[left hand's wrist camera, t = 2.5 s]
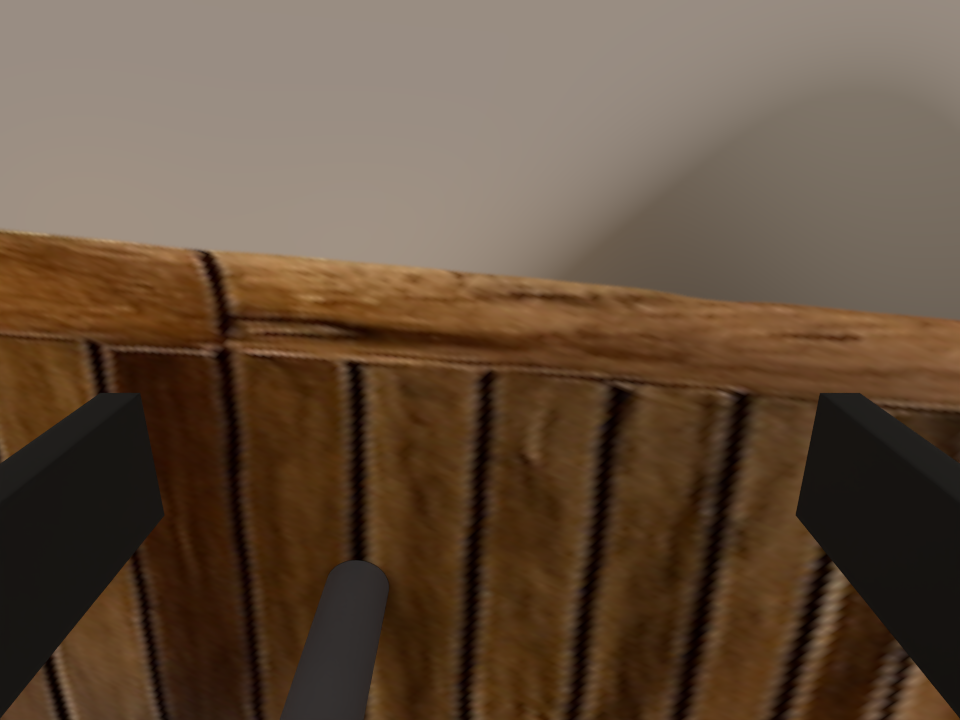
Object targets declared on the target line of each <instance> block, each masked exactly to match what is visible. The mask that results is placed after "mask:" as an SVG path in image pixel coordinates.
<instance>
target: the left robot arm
mask: <svg viewBox="0 0 960 720" xmlns="http://www.w3.org/2000/svg"><path fill="white" fill-rule="evenodd" d="M163 516H164V511H163V506H162V501H161V496H160V491H159V486H158V481H157V476H156V471H155V466H154V461H153V456H152V451H151V446H150V441H149V436H148V431H147V426H146V421H145V416H144V411H143V406H142V401H141V396H140V393H100V394H98V395H97V396H95V397H94V398H93V399H91V400H90V401H88V402H87V403H86V404H84V405H83V406H81V407H80V408H79V409H77V410H76V411H74V412H73V413H71V414H70V415H69V416H67V417H66V418H64V419H63V420H62V421H60V422H59V423H57V424H56V425H54V426H53V427H52V428H50V429H49V430H47V431H46V432H45V433H43V434H42V435H40V436H39V437H37V438H36V439H35V440H33V441H32V442H30V443H29V444H28V445H26V446H25V447H23V448H22V449H21V450H19V451H18V452H16V453H15V454H13V455H12V456H11V457H9V458H8V459H6V460H5V461H4V462H2V463H1V464H0V718H1V717H2V715H3V714H4V713H5V712H6V710H7V709H8V708H9V707H10V706H11V704H12V703H13V702H14V701H15V699H16V698H17V697H18V696H19V694H20V693H21V692H22V691H23V689H24V688H25V687H26V686H27V684H28V683H29V682H30V681H31V680H32V678H33V677H34V676H35V675H36V673H37V672H38V671H39V670H40V668H41V667H42V666H43V665H44V663H45V662H46V661H47V660H48V659H49V657H50V656H51V655H52V654H53V652H54V651H55V650H56V649H57V647H58V646H59V645H60V644H61V642H62V641H63V640H64V639H65V637H66V636H67V635H68V634H69V633H70V631H71V630H72V629H73V628H74V626H75V625H76V624H77V623H78V621H79V620H80V619H81V618H82V616H83V615H84V614H85V613H86V611H87V610H88V609H89V608H90V607H91V605H92V604H93V603H94V602H95V600H96V599H97V598H98V597H99V595H100V594H101V593H102V592H103V590H104V589H105V588H106V587H107V586H108V584H109V583H110V582H111V581H112V579H113V578H114V577H115V576H116V574H117V573H118V572H119V571H120V569H121V568H122V567H123V566H124V564H125V563H126V562H127V561H128V560H129V558H130V557H131V556H132V555H133V553H134V552H135V551H136V550H137V548H138V547H139V546H140V545H141V543H142V542H143V541H144V540H145V539H146V537H147V536H148V535H149V534H150V532H151V531H152V530H153V529H154V527H155V526H156V525H157V524H158V522H159V521H160V520H161V519H162V517H163ZM796 516H797V517H798V519H799V520H800V521H801V522H802V524H803V525H804V526H805V527H806V529H807V530H808V531H809V532H810V534H811V535H812V536H813V537H814V539H815V540H816V541H817V542H818V543H819V545H820V546H821V547H822V548H823V550H824V551H825V552H826V553H827V555H828V556H829V557H830V558H831V560H832V561H833V562H834V563H835V564H836V566H837V567H838V568H839V569H840V571H841V572H842V573H843V574H844V576H845V577H846V578H847V579H848V581H849V582H850V583H851V584H852V586H853V587H854V588H855V589H856V590H857V592H858V593H859V594H860V595H861V597H862V598H863V599H864V600H865V602H866V603H867V604H868V605H869V607H870V608H871V609H872V610H873V612H874V613H875V614H876V615H877V616H878V618H879V619H880V620H881V621H882V623H883V624H884V625H885V626H886V628H887V629H888V630H889V631H890V633H891V634H892V635H893V636H894V637H895V639H896V640H897V641H898V642H899V644H900V645H901V646H902V647H903V649H904V650H905V651H906V652H907V654H908V655H909V656H910V657H911V659H912V660H913V661H914V662H915V663H916V665H917V666H918V667H919V668H920V670H921V671H922V672H923V673H924V675H925V676H926V677H927V678H928V680H929V681H930V682H931V683H932V684H933V686H934V687H935V688H936V689H937V691H938V692H939V693H940V694H941V696H942V697H943V698H944V699H945V701H946V702H947V703H948V704H949V706H950V707H951V708H952V709H953V710H954V712H955V713H956V714H957V715H958V717H959V718H960V464H959V463H958V462H956V461H955V460H954V459H952V458H951V457H949V456H948V455H947V454H945V453H944V452H942V451H941V450H939V449H938V448H937V447H935V446H934V445H932V444H931V443H930V442H928V441H927V440H925V439H924V438H923V437H921V436H920V435H918V434H917V433H915V432H914V431H913V430H911V429H910V428H908V427H907V426H906V425H904V424H903V423H901V422H900V421H898V420H897V419H896V418H894V417H893V416H891V415H890V414H889V413H887V412H886V411H884V410H883V409H881V408H880V407H879V406H877V405H876V404H874V403H873V402H872V401H870V400H869V399H867V398H866V397H865V396H863V395H862V394H860V393H820V396H819V401H818V406H817V411H816V416H815V421H814V426H813V431H812V436H811V441H810V446H809V451H808V456H807V461H806V466H805V471H804V476H803V481H802V486H801V491H800V496H799V501H798V506H797V511H796Z"/></svg>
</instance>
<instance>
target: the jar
mask: <svg viewBox="0 0 960 720" xmlns="http://www.w3.org/2000/svg"><path fill="white" fill-rule="evenodd" d="M388 592H389V583H388V580H387V578H386V576H385V574H384V573H383V572H382V571H381V570H380V569H379V568H378V567H377V566H375V565H373V564H371V563H369V562H365V561H360V560H352V561H347V562H343V563H341V564H339V565H337V566H336V567H335V568H334V569H333V570H332V571H331V572H330V574H329V576H328V578H327V581H326V584H325V587H324V590H323V593H322V596H321V599H320V602H319V605H318V608H317V611H316V614H315V617H314V620H313V623H312V626H311V629H310V632H309V634H308V637H307V640H306V643H305V646H304V649H303V652H302V655H301V658H300V661H299V664H298V667H297V670H296V673H295V676H294V679H293V682H292V685H291V688H290V691H289V694H288V697H287V700H286V703H285V706H284V709H283V712H282V715H281V718H280V720H364V714H365V709H366V704H367V699H368V694H369V689H370V684H371V679H372V674H373V668H374V663H375V658H376V653H377V648H378V643H379V638H380V633H381V628H382V623H383V617H384V612H385V607H386V602H387V597H388Z"/></svg>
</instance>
